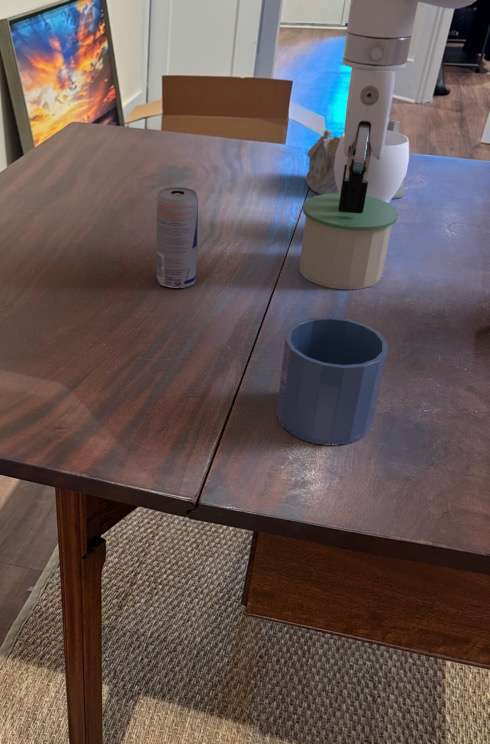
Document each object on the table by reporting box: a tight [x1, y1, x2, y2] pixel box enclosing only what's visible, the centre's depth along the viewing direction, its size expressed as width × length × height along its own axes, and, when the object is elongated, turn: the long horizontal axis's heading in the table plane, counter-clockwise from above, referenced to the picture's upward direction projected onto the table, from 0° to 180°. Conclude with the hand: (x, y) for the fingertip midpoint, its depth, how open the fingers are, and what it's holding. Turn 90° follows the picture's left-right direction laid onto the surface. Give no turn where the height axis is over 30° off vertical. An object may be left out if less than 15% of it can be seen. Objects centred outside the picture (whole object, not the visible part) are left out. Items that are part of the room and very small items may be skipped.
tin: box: [299, 215, 393, 290], centre depth 99 cm, size 12×12×8 cm
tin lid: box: [302, 179, 399, 230], centre depth 95 cm, size 13×13×6 cm
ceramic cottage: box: [304, 119, 405, 201], centre depth 126 cm, size 16×16×15 cm
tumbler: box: [276, 316, 388, 446], centre depth 70 cm, size 10×10×9 cm
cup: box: [334, 130, 410, 204], centre depth 107 cm, size 11×11×15 cm
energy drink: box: [155, 186, 199, 288], centre depth 94 cm, size 5×5×12 cm
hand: (351, 202), depth 95 cm, fingers open, 5 cm apart
